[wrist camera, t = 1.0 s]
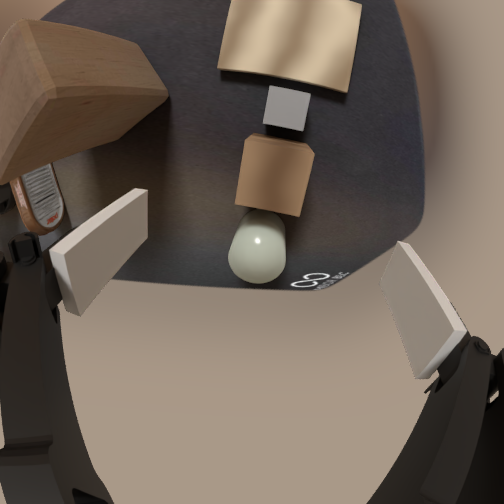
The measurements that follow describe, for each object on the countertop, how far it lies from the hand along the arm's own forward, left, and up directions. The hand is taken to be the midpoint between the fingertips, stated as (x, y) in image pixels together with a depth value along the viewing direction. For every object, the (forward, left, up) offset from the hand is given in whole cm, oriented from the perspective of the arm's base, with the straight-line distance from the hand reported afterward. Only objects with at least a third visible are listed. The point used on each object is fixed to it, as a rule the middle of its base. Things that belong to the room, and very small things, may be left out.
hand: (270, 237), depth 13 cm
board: (-1, +16, -19) cm, 25 cm away
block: (-20, +7, -20) cm, 29 cm away
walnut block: (0, 0, -20) cm, 20 cm away
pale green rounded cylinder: (0, -9, -20) cm, 21 cm away
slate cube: (0, +7, -20) cm, 21 cm away
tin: (-34, -6, -20) cm, 40 cm away
